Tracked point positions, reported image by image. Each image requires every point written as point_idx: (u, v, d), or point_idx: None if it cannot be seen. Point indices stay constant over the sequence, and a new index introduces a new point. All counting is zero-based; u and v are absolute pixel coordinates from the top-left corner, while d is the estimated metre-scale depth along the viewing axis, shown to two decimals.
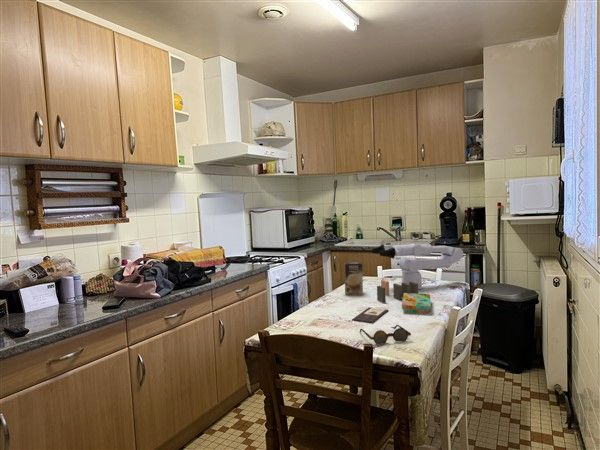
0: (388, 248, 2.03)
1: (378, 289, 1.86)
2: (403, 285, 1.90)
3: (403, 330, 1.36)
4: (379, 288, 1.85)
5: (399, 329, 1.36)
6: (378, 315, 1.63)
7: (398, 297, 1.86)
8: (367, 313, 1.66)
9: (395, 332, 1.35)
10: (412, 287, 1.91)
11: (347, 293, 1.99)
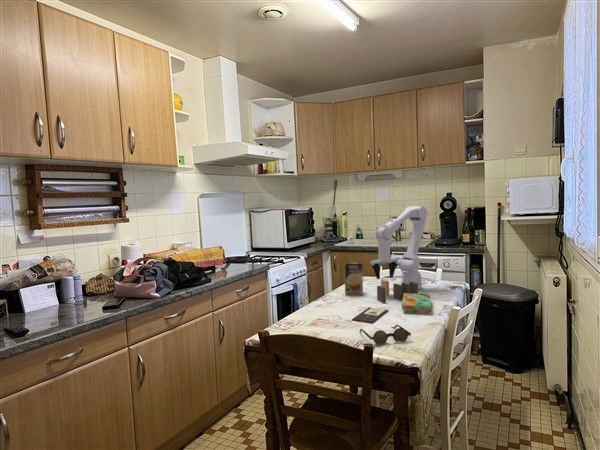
0: None
1: (378, 289, 1.86)
2: (403, 285, 1.90)
3: (403, 330, 1.36)
4: (379, 288, 1.85)
5: (399, 329, 1.36)
6: (378, 315, 1.63)
7: (398, 296, 1.86)
8: (367, 313, 1.66)
9: (395, 332, 1.35)
10: (412, 286, 1.91)
11: (347, 293, 1.99)
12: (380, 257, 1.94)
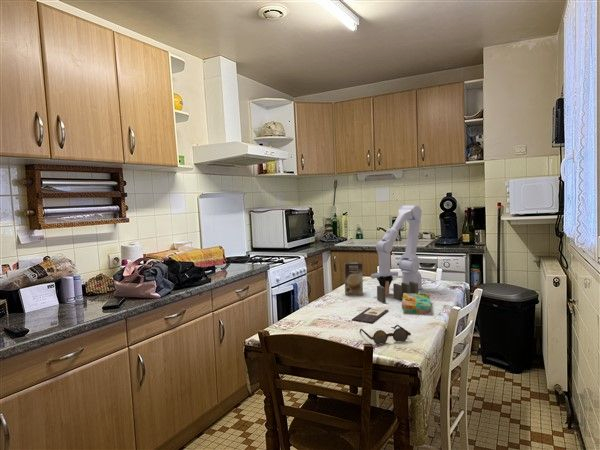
0: None
1: (378, 289, 1.86)
2: (403, 285, 1.90)
3: (403, 330, 1.36)
4: (379, 288, 1.85)
5: (399, 329, 1.36)
6: (378, 315, 1.63)
7: (398, 297, 1.86)
8: (367, 313, 1.66)
9: (395, 332, 1.35)
10: (412, 286, 1.91)
11: (347, 293, 1.99)
12: (380, 270, 1.95)
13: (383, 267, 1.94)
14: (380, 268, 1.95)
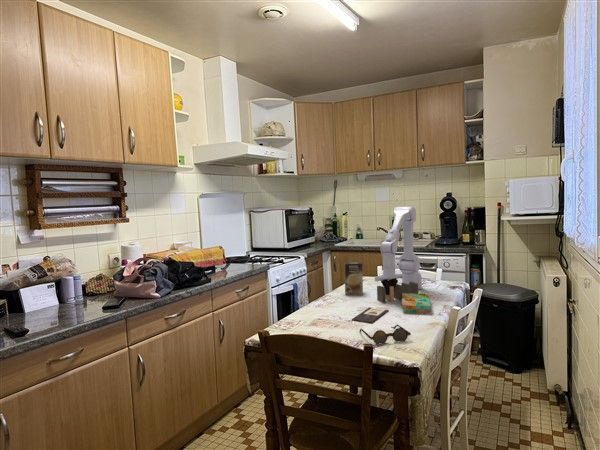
0: None
1: (378, 289, 1.86)
2: (403, 285, 1.90)
3: (403, 330, 1.36)
4: (379, 288, 1.85)
5: (399, 329, 1.36)
6: (378, 315, 1.63)
7: (398, 296, 1.86)
8: (367, 313, 1.66)
9: (394, 331, 1.36)
10: (412, 286, 1.91)
11: (347, 293, 1.99)
12: (385, 273, 1.84)
13: (387, 269, 1.83)
14: (384, 270, 1.84)
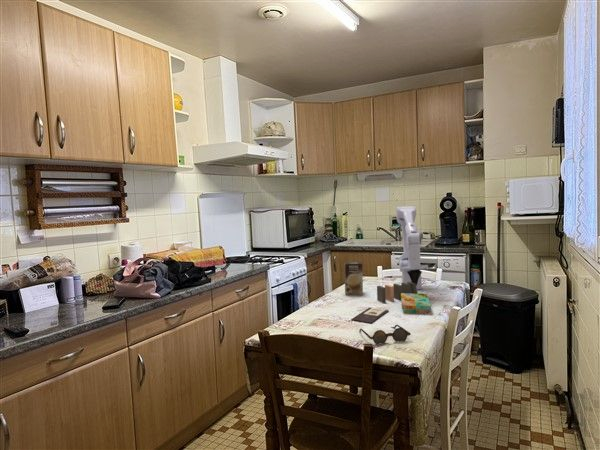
0: (411, 269, 1.89)
1: (378, 289, 1.86)
2: (403, 285, 1.90)
3: (402, 330, 1.36)
4: (379, 288, 1.85)
5: (398, 329, 1.36)
6: (378, 315, 1.62)
7: (398, 297, 1.86)
8: (367, 313, 1.66)
9: (394, 331, 1.36)
10: (410, 287, 1.90)
11: (347, 293, 1.99)
12: (410, 264, 1.88)
13: (413, 260, 1.87)
14: (410, 261, 1.88)
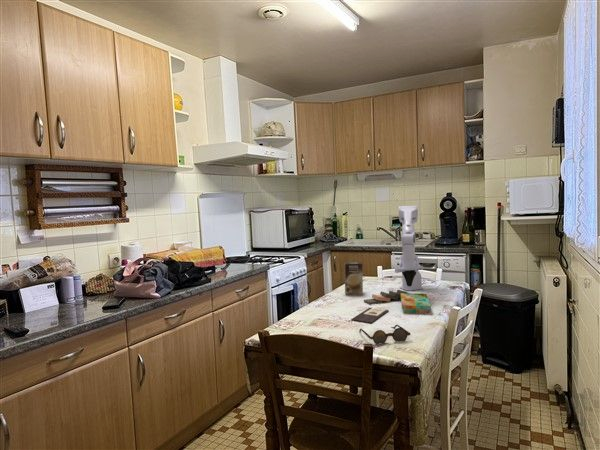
0: (406, 269, 1.88)
1: None
2: (392, 294, 1.88)
3: (402, 330, 1.36)
4: None
5: (398, 329, 1.36)
6: (378, 315, 1.62)
7: (394, 299, 1.86)
8: (367, 313, 1.66)
9: (394, 331, 1.36)
10: None
11: (347, 293, 1.99)
12: (405, 264, 1.87)
13: (408, 261, 1.86)
14: (404, 262, 1.88)
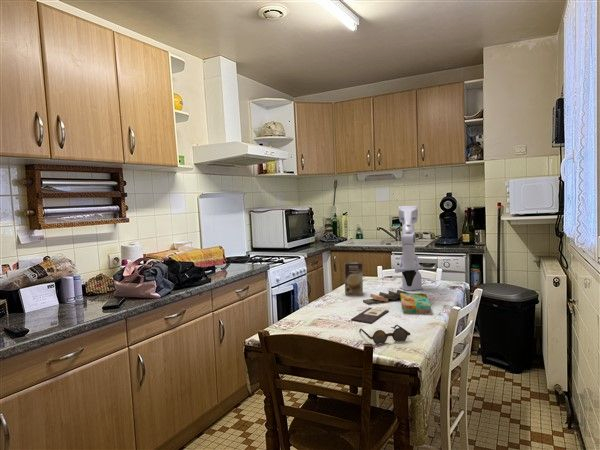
0: (406, 269, 1.88)
1: None
2: None
3: (402, 330, 1.36)
4: None
5: (398, 329, 1.36)
6: (378, 315, 1.62)
7: (393, 299, 1.86)
8: (367, 313, 1.66)
9: (394, 331, 1.36)
10: None
11: (347, 293, 1.99)
12: (405, 264, 1.87)
13: (408, 261, 1.86)
14: (404, 262, 1.88)
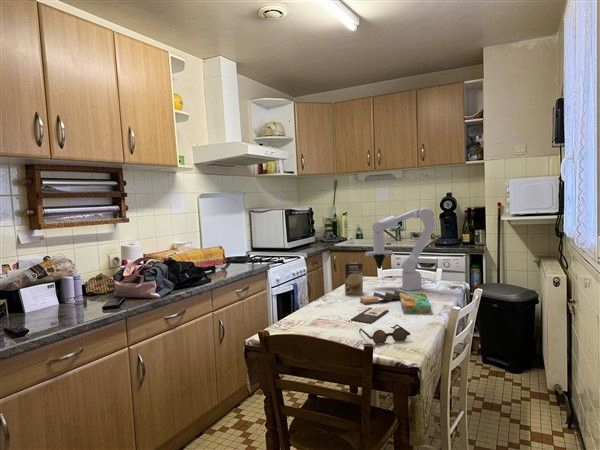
0: None
1: None
2: (388, 296, 1.87)
3: (402, 330, 1.36)
4: None
5: (398, 329, 1.36)
6: (377, 315, 1.62)
7: None
8: (367, 313, 1.66)
9: (394, 331, 1.36)
10: None
11: (347, 293, 1.99)
12: (374, 249, 2.09)
13: (376, 245, 2.08)
14: (374, 246, 2.09)
